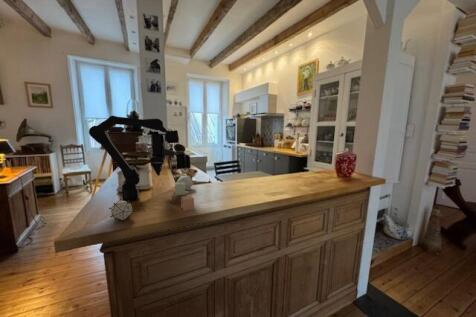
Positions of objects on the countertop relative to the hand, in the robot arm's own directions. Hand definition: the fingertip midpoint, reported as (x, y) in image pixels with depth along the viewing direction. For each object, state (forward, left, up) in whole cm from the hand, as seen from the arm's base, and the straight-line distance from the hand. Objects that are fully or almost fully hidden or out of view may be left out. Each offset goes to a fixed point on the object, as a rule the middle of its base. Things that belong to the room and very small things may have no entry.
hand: (159, 173), depth 105 cm
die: (+13, +7, -12) cm, 19 cm away
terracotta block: (+13, -21, -12) cm, 28 cm away
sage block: (+10, -11, -8) cm, 17 cm away
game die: (-12, -26, -12) cm, 31 cm away
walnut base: (+10, -11, -12) cm, 19 cm away
